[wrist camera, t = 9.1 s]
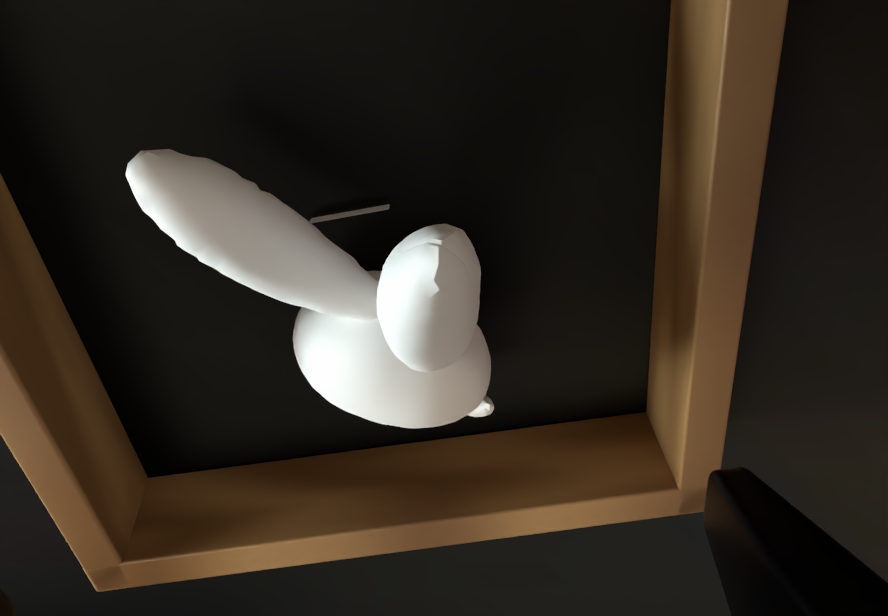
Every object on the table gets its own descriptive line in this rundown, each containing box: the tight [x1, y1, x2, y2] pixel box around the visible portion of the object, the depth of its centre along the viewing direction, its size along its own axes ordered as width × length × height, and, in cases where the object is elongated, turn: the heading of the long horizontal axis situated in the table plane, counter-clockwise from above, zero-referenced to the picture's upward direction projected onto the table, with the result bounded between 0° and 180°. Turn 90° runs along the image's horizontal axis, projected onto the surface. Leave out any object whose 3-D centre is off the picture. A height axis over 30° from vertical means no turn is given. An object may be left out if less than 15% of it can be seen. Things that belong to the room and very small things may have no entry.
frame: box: [0, 0, 789, 592], centre depth 15 cm, size 14×13×2 cm
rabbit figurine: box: [125, 149, 494, 428], centre depth 14 cm, size 6×4×8 cm
